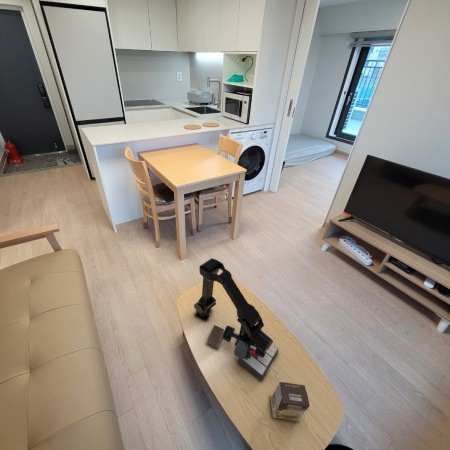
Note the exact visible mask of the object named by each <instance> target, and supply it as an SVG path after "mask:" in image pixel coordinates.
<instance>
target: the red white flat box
mask: <svg viewBox="0 0 450 450" xmlns="http://www.w3.org/2000/svg"><path fill="white" fill-rule="evenodd" d="M251 351H252V354H251V358H250V359H249V358H248V360H246V359H242V358H240V357H239V361H238V362H239V364H240V365H241V366H242V367H244V368H245V369H246V370H247V371H248V372H250V373H251V374H252V375H253V376H254V377H255V378H257V379H258V380H259V381H262V380H263V378H264V376H265V375H266V373H267V371H268V370H269V368H270V366H271V365H272V363H273V361H274V359H275V358H276V356H277V355H278V353H279V349H278V347H276V346H275V345H273V344H272V345H271V346H270V348H269V349H268V350H267V351H266V353H265V356H264V358H262V357H260V356H257V355H256V354H255V351H256V350H255V349H253V348H251Z"/></svg>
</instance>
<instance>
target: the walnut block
mask: <svg viewBox="0 0 450 450" xmlns="http://www.w3.org/2000/svg"><path fill="white" fill-rule="evenodd" d="M224 331H225V328H222V327H220V326H217V325H216V324H214V325H213V327H212V329H211V331H210V333H209V335H208V338H207V346H209V347H211V348H214V349H215V350H218V348H219V346H220V343H221V341H222V340H223V339H222V336H223V333H224Z"/></svg>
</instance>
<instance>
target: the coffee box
mask: <svg viewBox="0 0 450 450" xmlns="http://www.w3.org/2000/svg"><path fill="white" fill-rule="evenodd" d="M270 405H271V413H272V418H274V419H281V420H287V421H294V422H297V421H299V419H300V418H301V417H302V416H303V415H304V414H305V413H306V412H307V410H308V409H309V408H310V400H309V396H308V392H307V388H306V385H305V384H299V383H298V384H297V383H292V382H284V381H279V382H278V384H277V386H276V388H275V390H274V391H273V394H272V395H271V396H270Z"/></svg>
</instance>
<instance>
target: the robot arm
mask: <svg viewBox="0 0 450 450" xmlns="http://www.w3.org/2000/svg"><path fill="white" fill-rule="evenodd" d="M198 268H199V269H198V270H199V274H200V276H202V290H201V296H200V297H199V299H198V301H197V302H196V303H194V304H193V308H194V309H195V311H196V313H195V317H197V318H199V319H201V320H203V321H208V319H209V318H210V316H211V314H212V308H213V307H215V306H216V305H217V299H216V298H215V297H214V296H213V295H214V294H213V293H214V285H215V282H216V283H218V284H219V285H221V286H222V288H223V289H224V291H225V292H226V294H227V296H228V297H229V299H230V300H231V302H232V304H233V306H234V308H235V309H236V317H237V319H236V321H237V322H238V323H239V324H240V328H239V332H237V331H235V330H236V328H235V327H233V326H231V325H226V326H225V328H224V333H223V336H222V339H221V340H223V341H225V342H227V343H231V341H232V338H233V339H235V341H234V346H235V347H234V351H233V353H234V356H236V357H238V358H239V359H240V358H242V359H246V360H248V358H249V359H250V358H251V354H252V351H251V348H253V349H255V350H256V351H255V354H256V355H257V356H260V357H262V358H264V356H265V353H266V351H267V350H268V349H269V348H270V346H271V345H273V343H274V340H273V339H272V338H271V337H270V336H269V335H268V334H266V333H265V332H264V331H263V330H262V329H263V328H264V327H265V324H264V321H263V318H262V317H261V314H260V312H259V311H258V310H257V309H256V307H255V306H254V305H252V304H250V303H249V302H248V301H247V299H246V298H245V296H244V295H243V293H242V292H241V289H240V288H239V286H238V285H237V284H236V282H235V280H234V279H233V276H232V273H231V271H229V270H228V269H226V267H225V265H224V263H223V262H221V261H220V260H217V259H215V258H213V257H212V258H209V259H208V260H206V261H205V262H204V263H202V264H200V265H199V266H198ZM220 270H221V273H220V274H218V273H219V271H220Z"/></svg>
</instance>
